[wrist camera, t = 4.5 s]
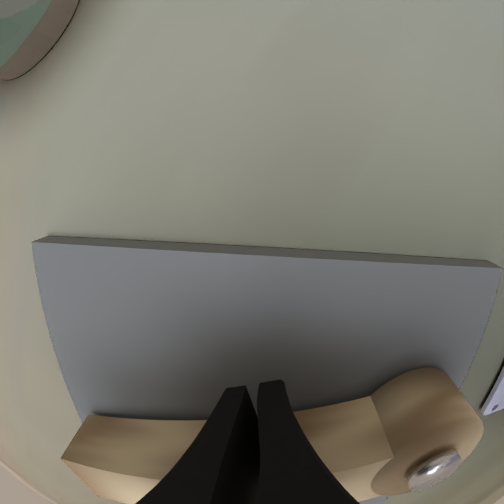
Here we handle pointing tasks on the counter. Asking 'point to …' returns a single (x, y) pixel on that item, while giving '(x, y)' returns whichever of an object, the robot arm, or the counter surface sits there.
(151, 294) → the board
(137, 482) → the link
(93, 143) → the counter surface
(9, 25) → the coffee cup
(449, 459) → the pintle
